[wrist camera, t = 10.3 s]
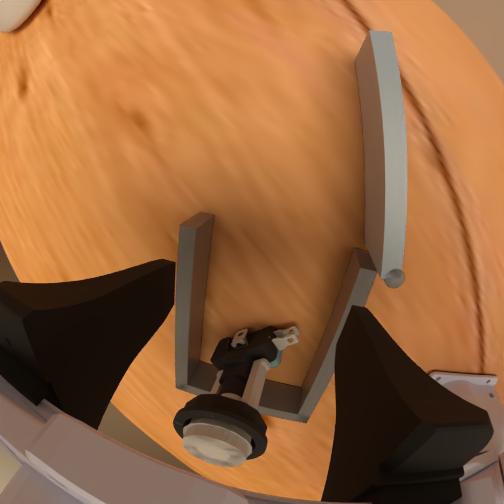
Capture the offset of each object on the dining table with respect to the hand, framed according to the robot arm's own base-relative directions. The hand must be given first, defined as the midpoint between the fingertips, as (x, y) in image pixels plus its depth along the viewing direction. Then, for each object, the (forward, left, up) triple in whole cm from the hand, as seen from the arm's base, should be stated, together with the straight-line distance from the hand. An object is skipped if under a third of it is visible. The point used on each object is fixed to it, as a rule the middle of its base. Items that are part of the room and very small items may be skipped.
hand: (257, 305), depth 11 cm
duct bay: (0, +6, -8) cm, 9 cm away
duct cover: (-4, -7, -7) cm, 11 cm away
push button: (0, +8, -8) cm, 11 cm away
